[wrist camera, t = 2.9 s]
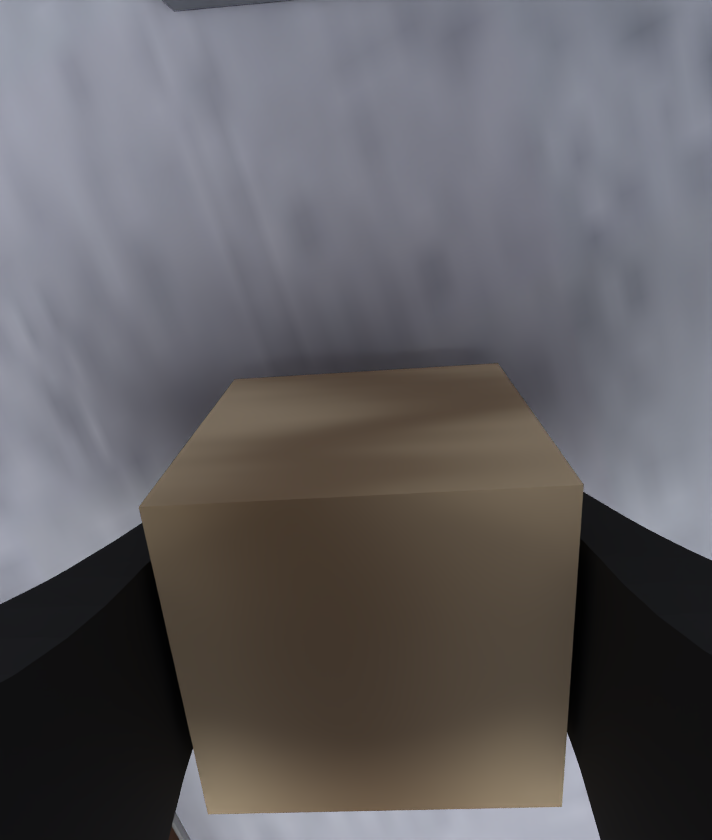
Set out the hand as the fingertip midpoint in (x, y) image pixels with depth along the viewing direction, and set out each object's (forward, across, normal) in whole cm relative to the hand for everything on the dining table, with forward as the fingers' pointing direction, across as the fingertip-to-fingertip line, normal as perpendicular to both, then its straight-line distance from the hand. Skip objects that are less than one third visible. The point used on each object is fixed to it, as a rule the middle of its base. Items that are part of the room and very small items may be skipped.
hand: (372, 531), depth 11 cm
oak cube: (+2, 0, 0) cm, 2 cm away
